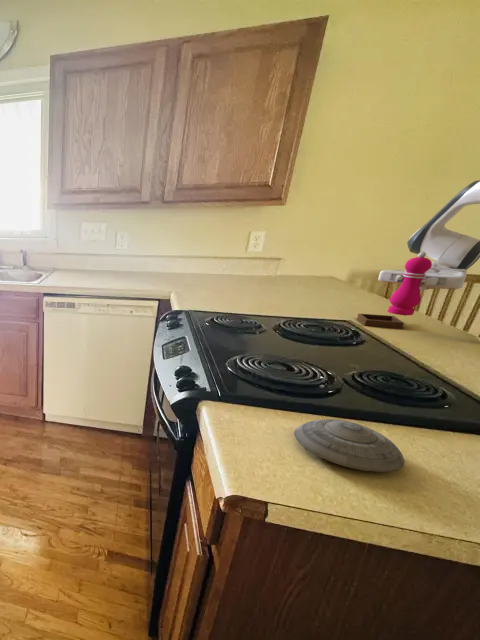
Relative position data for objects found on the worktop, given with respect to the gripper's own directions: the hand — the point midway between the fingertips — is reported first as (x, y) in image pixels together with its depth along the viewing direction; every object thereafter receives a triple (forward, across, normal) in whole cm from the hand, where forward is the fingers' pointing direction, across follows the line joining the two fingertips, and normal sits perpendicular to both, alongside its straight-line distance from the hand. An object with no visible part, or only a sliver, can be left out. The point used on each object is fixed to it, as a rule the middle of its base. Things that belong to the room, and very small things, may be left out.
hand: (411, 280), depth 128 cm
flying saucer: (+98, +22, +16) cm, 102 cm away
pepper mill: (-1, 0, +11) cm, 11 cm away
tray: (-7, -6, +17) cm, 19 cm away
